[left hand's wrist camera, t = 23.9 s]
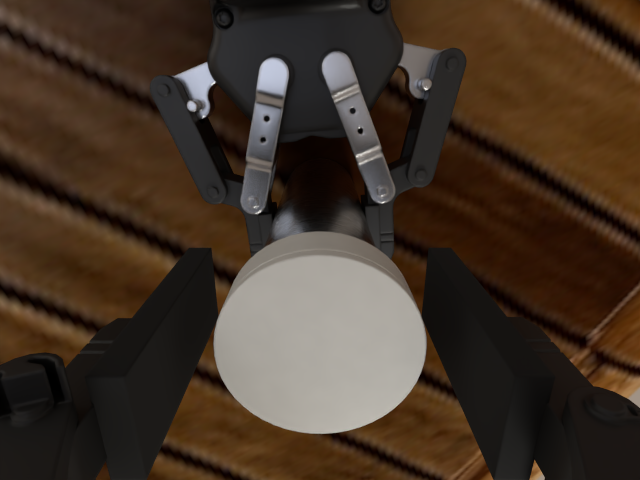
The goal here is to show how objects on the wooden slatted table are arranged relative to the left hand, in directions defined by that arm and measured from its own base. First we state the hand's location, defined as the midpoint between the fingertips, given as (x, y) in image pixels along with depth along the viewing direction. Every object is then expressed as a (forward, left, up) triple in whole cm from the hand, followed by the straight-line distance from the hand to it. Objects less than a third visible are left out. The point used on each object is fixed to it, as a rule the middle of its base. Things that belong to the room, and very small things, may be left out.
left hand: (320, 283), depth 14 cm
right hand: (+1, -2, -7) cm, 7 cm away
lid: (0, 0, +4) cm, 4 cm away
